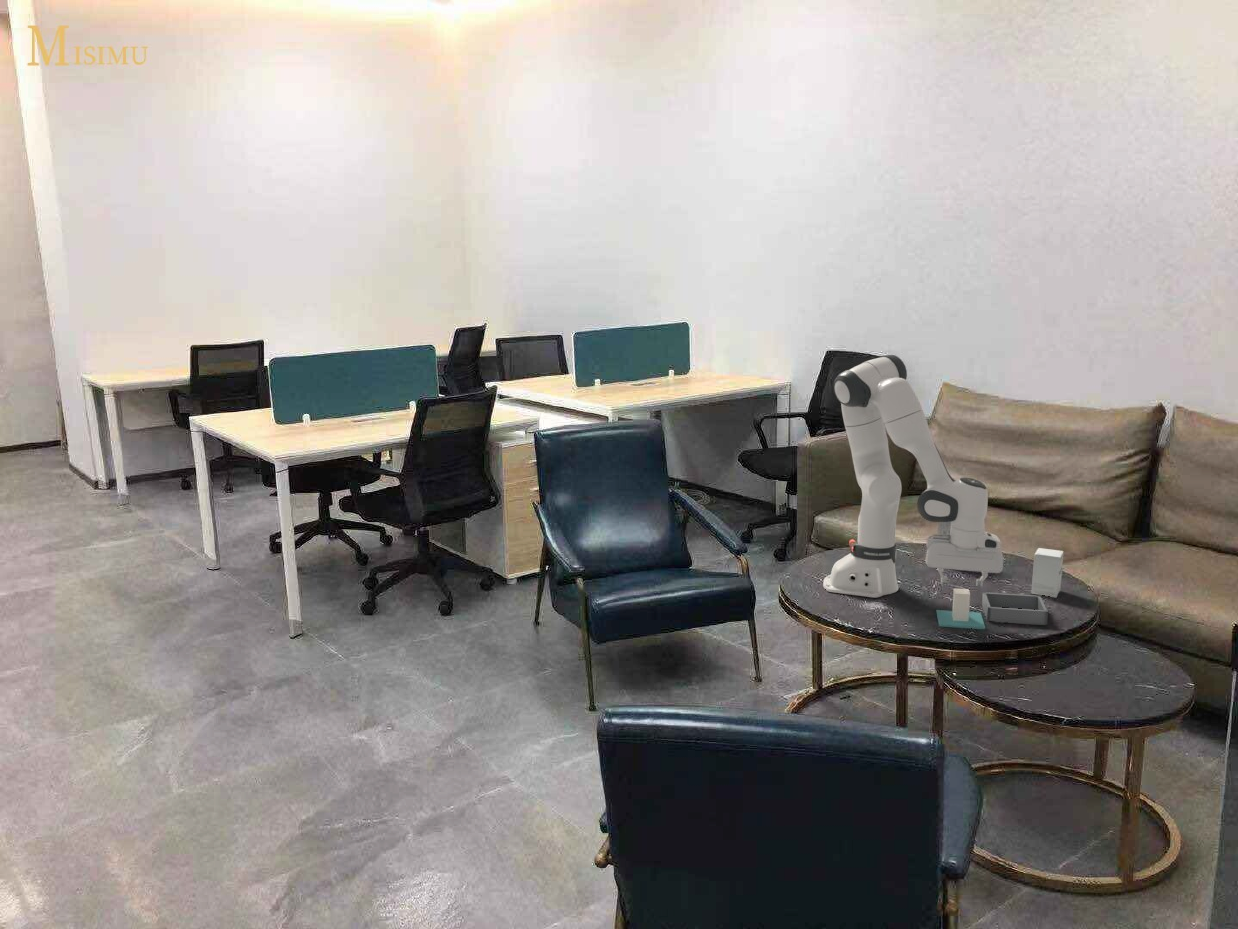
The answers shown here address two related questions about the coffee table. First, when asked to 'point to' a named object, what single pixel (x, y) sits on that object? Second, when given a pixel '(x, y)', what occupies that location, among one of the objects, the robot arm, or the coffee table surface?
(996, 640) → the coffee table surface
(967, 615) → the block
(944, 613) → the mat
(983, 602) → the crate
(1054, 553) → the supplement box
